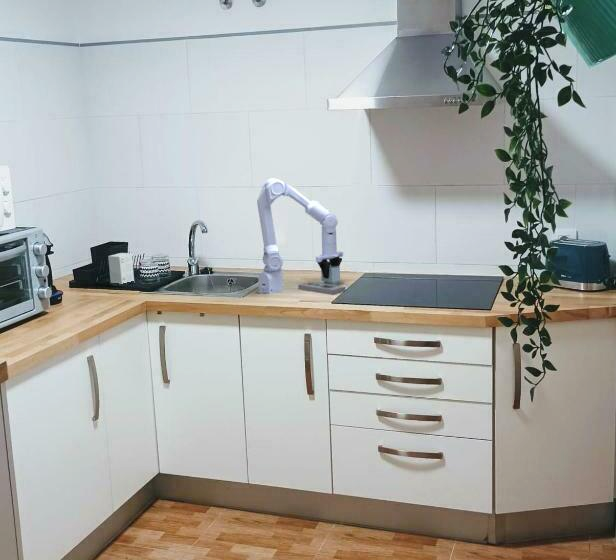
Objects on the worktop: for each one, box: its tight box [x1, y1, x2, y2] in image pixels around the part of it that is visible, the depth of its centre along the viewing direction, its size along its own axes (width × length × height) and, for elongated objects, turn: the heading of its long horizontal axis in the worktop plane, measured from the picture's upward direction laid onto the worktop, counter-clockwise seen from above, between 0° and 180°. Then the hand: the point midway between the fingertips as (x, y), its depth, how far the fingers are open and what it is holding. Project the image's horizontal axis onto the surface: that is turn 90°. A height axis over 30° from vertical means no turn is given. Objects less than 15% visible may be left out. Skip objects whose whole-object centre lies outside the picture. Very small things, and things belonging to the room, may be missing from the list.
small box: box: [107, 252, 135, 284], centre depth 339 cm, size 8×6×13 cm
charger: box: [320, 265, 341, 286], centre depth 320 cm, size 5×6×8 cm
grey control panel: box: [297, 281, 346, 296], centre depth 312 cm, size 7×18×3 cm, turn 48°
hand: (330, 277), depth 320 cm, fingers closed on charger, 4 cm apart
